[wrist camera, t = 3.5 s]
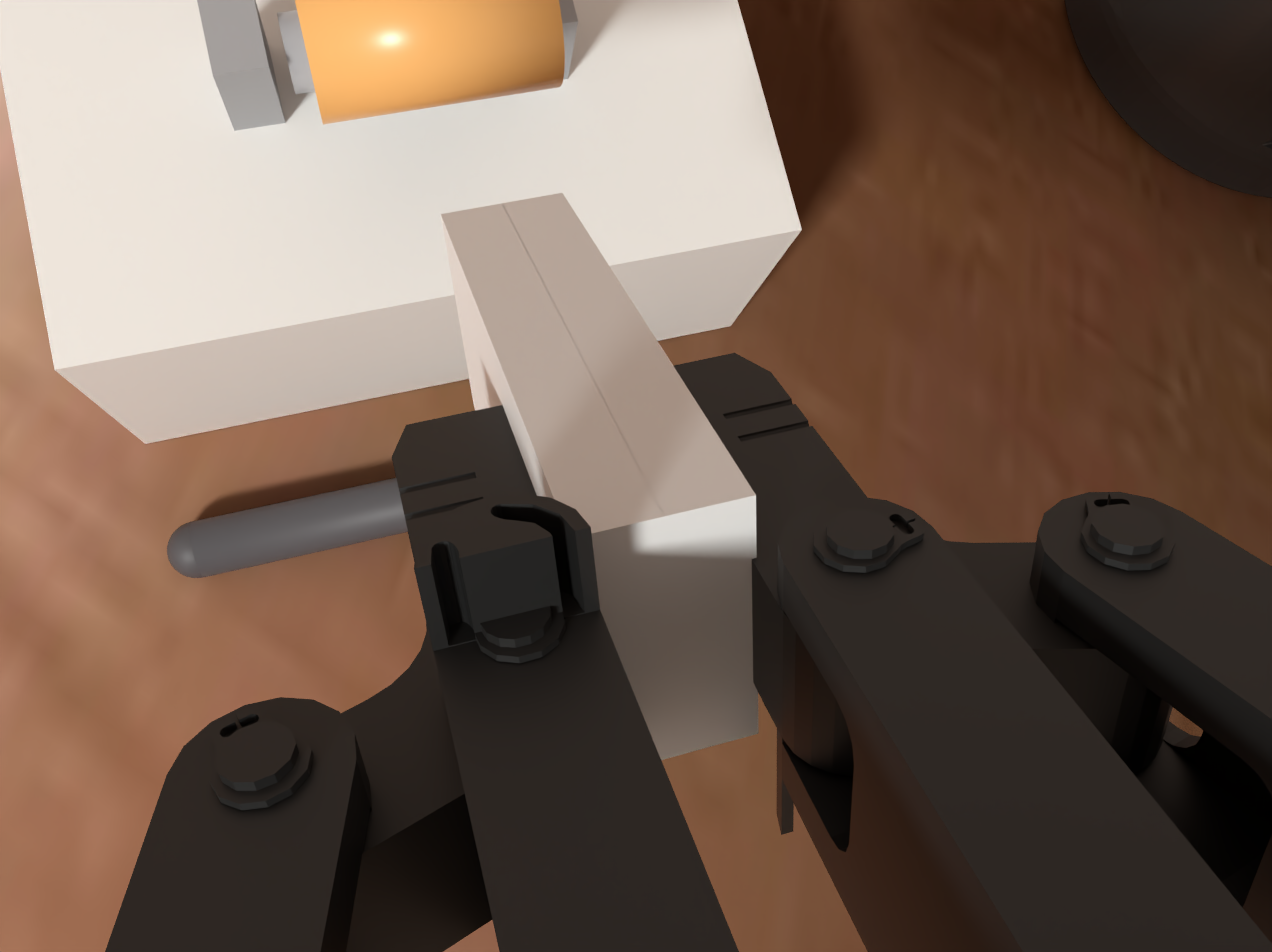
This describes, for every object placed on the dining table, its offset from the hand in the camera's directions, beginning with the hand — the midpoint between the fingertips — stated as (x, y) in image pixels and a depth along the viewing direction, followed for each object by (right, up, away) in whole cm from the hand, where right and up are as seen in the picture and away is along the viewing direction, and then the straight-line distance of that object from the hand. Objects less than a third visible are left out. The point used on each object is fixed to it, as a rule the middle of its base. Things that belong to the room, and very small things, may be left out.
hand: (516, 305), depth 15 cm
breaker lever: (-4, +8, +13) cm, 16 cm away
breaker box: (-5, +4, +22) cm, 23 cm away
